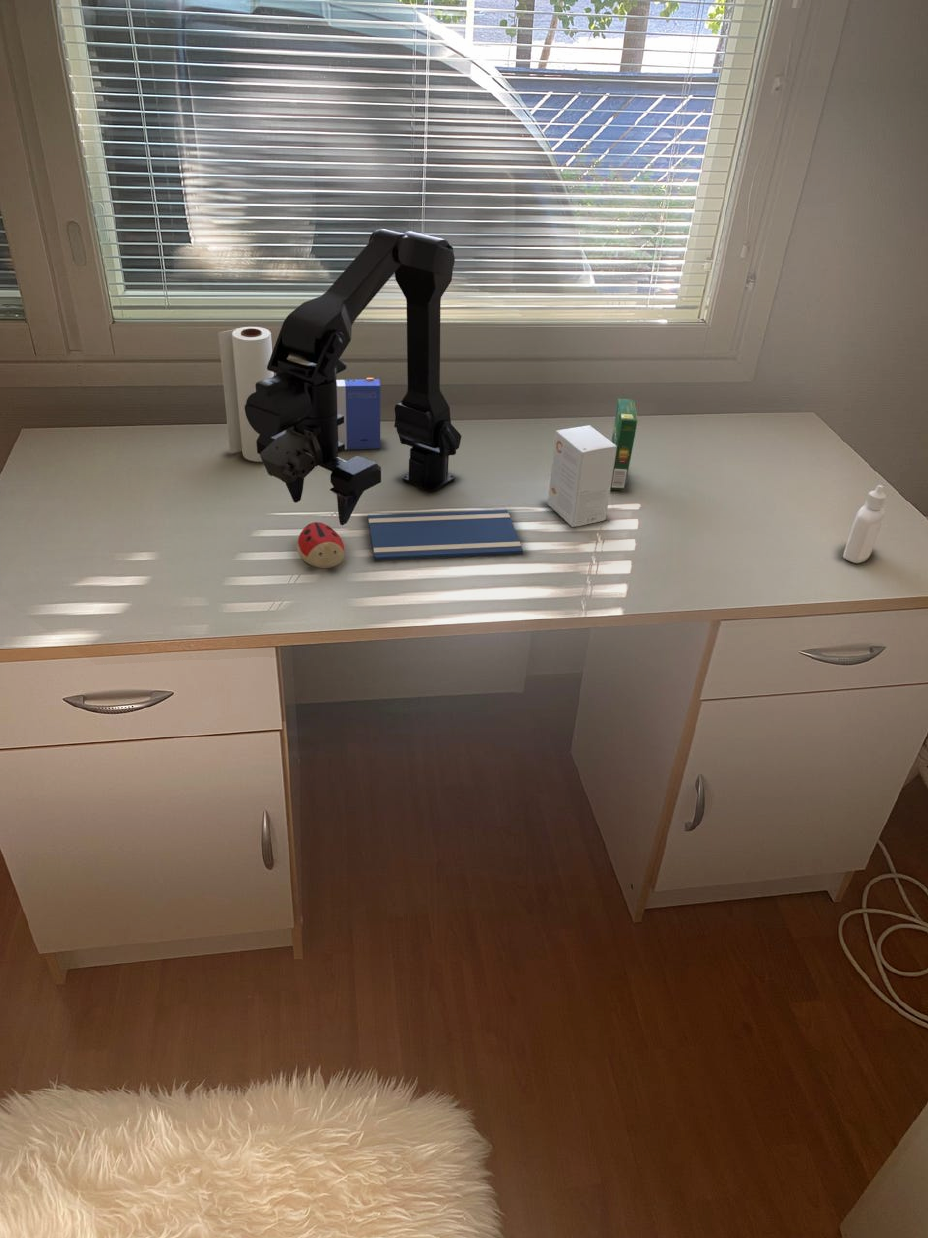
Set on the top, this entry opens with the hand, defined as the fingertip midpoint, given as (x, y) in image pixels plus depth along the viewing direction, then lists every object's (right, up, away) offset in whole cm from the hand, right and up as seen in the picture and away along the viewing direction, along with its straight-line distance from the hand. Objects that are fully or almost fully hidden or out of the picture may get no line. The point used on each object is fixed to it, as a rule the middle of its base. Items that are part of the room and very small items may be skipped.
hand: (320, 512), depth 137 cm
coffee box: (+46, +8, +27) cm, 54 cm away
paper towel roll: (-15, +13, +28) cm, 34 cm away
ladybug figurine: (0, -6, +4) cm, 7 cm away
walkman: (+2, +15, +33) cm, 36 cm away
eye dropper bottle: (+81, -5, +12) cm, 82 cm away
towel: (+17, -2, +10) cm, 20 cm away
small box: (+38, +2, +18) cm, 42 cm away
